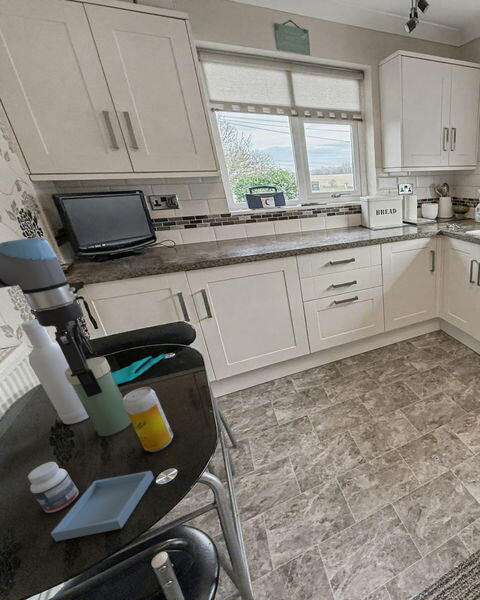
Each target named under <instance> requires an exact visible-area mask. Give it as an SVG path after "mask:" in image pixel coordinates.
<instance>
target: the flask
mask: <svg viewBox="0 0 480 600" xmlns="http://www.w3.org/2000/svg"><path fill="white" fill-rule="evenodd" d="M112 373H113V372H112V370H111V369H110V371H109V372H108V373H106V374H105V375H103V376H102V377H100V378H98V379H96V380H97V382H98V384H99V386H100V388H101V390H102V393H99V394H96V395H93V396H90V397H87V395H86V393H85V391H84V389H83V387H82V385H81V384H77V385H73V384H71V385H72V386H73V388H74V390H75V392H76V394H77V396H78V398H79V400H80V401H81V403H82V405H83V407H84V409H85V411H86V413H87V415H88V417H89V418H88V419H89V420H90V423H91V424H92V426H93V428H94V429H95V432H96V434H97V435H98V436H99V437H107V436H111V435H115V434H117V433H119V432H122V431H123V430H125V429H126V428H127V427H129V426H130V425H131V424H132V423H131V420H130V418H129V416H128V414H127V412H126V410H125V408H124V406H123V398H124V396H123V394H122V392H121V390H120V388H119V386H118V385H119V384H117V383H116V381H115V379H114V377H113V375H112Z"/></svg>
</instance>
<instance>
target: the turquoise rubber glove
mask: <svg viewBox="0 0 480 600" xmlns="http://www.w3.org/2000/svg"><path fill="white" fill-rule="evenodd" d="M165 357H167V354H163V353H162V354H159V355H158V356H156V357H155V358H153V357H152V356H148V357H145V358H143V359H140V360H138V361H134V362H133V363H131V364H130V365H129V366H126V367H123V368H121V369H119V370H115V371H114V372H111V373H112V375H113V377H114V379H115V381H116V383H117V385H119V384H123V383H127V382H130V381H133V380H134V379H136V378H137V377H139V376H141V375H142V374H143V373H145V372H146V371H147V370H149V369H150V368H151V367H152V366H153V365H155V364H157V363H159V362H160V361H161V360H162V359H164V358H165Z"/></svg>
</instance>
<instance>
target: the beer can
mask: <svg viewBox="0 0 480 600" xmlns="http://www.w3.org/2000/svg"><path fill="white" fill-rule="evenodd" d="M123 406H124V408H125V410H126V412H127V414H128V416H129V418H130V420H131V424H132V427H133V429H134V431H135V433H136V435H137V437H138V439H139V441H140V443H141V446H142V448H143V450H144V451H147V452H153V453H154V452H158V451H160V450H163V449H164V448H166V447H168V445H169V444H170V443H171V442H172V440H173V438H174V433H173V431H172V428H171V426H170V424H169V422H168V420H167V417H166V414H165V412H164V410H163V408H162V405H161V403H160V400H159V398H158V396H157V394H156V391H155V390H153V389H152V388H151V386H150V387H149V386H144V387H143V386H142V387H139V388H136V389H134V390H132V391H130V392H128V393H127V394H125V395H124V396H123Z"/></svg>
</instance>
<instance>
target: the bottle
mask: <svg viewBox="0 0 480 600" xmlns="http://www.w3.org/2000/svg"><path fill="white" fill-rule="evenodd" d="M20 326H21V329H22V331H23V332H24V333H25V335H26V336H27V338H28V340H29V342H30V344H31V346H32V348H33V349H32V350H31V352H30V353H28V364H29V366H30V367H31V369H32V371H33V373H34V374H35V376H36V378H37V379H38V381H39V383H40V385H41V387H42V388H43V390H44V392H45V393H46V395H47V397H48V399H49V401H50V402H51V404H52V406H53V407H54V409H55V411H56V413H57V415H58V417H59V420H60V421H62V423H63V424H65V425H72V424H77V423H80V422H82V421H85V420H87V419H90V418H89V417H88V415H87V413H86V411H85V409H84V407H83V405H82V403H81V401H80V400H79V398H78V396H77V394H76V392H75V390H74V388H73V386H72V385H71V384H70V383H69V382H68V380H67V378H66V375H65V373H64V372H65V370H66V369H67V368H69V365H68V363H67V361H66V359H65V356H64V354H63V352H62V350H61V348H60V346H59V344H58V343H57V342H54V341H53V340H52V338H51V336H50V335H49V332H48V331H47V329H46V327H44V326H41V325H40V324H39V322H38V320H37V318H34V319H30V320H27V321H24V322H22V323H21V324H20Z"/></svg>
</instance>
